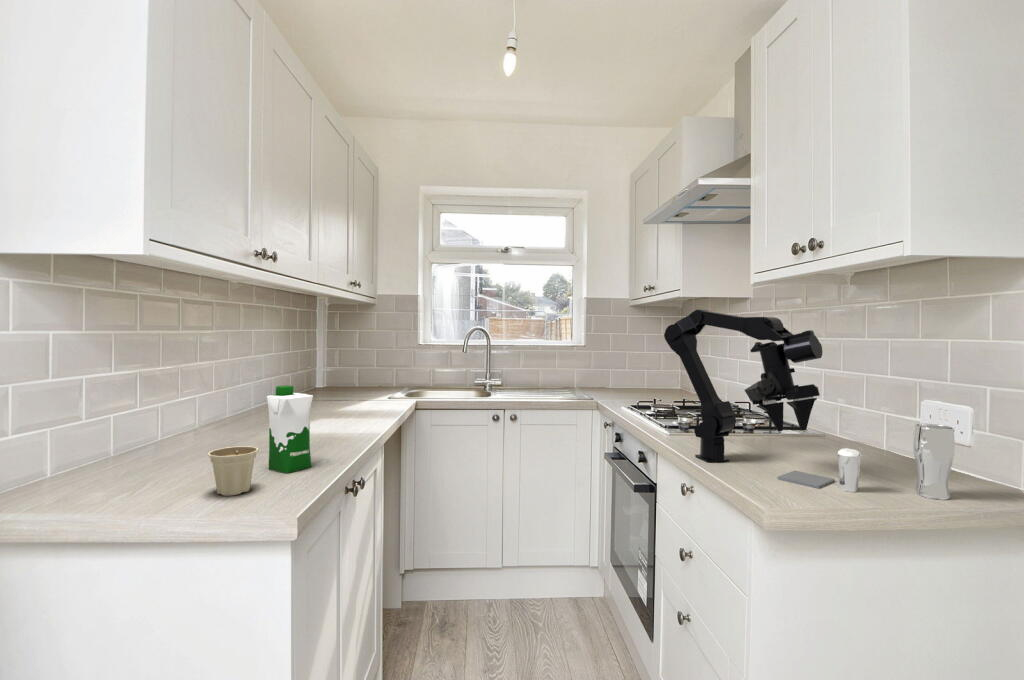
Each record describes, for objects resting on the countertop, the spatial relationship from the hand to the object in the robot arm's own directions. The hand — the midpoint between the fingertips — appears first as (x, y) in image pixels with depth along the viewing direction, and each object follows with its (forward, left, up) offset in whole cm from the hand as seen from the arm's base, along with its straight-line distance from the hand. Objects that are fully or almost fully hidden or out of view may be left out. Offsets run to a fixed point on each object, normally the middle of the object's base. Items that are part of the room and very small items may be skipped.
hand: (791, 430), depth 128 cm
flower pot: (-11, -126, -11) cm, 127 cm away
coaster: (+3, +2, -11) cm, 12 cm away
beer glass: (+17, +21, -11) cm, 29 cm away
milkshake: (+11, +6, -11) cm, 17 cm away
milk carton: (-28, -118, -11) cm, 122 cm away
